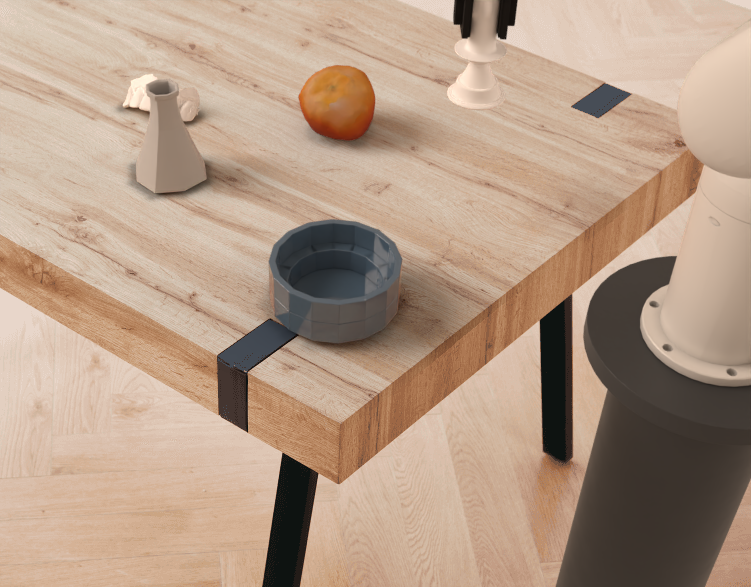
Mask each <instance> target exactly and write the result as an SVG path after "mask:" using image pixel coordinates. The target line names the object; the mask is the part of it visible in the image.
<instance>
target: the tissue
mask: <svg viewBox="0 0 751 587" xmlns="http://www.w3.org/2000/svg"><path fill="white" fill-rule="evenodd" d="M154 80H159V79H158V77H157V76H154V73H150V74H143V75H142V76H141V77H137V78H134V79H131V80H130V86H129V87H128V90H127V95H126V97H125V100H124V102H123V103H122V108H124V109H127V108H135V109H136V108H139V110H141V111H145V112H149V113H150V105H151V104H150V97H148V96H147V94H146V84H148V83H150V82H152V81H154ZM200 97H201V96H200V94H199V92H198V90H197V88H196V87H194V86H192V87H184V88H181V89H179V95H178V96H177V104H178V107H179V111H180V114H181V117H182V120H183V122H191V121H193V120H194V118H195V117H196V116H199V111H200V99H201V98H200Z"/></svg>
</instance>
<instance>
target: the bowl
mask: <svg viewBox="0 0 751 587" xmlns="http://www.w3.org/2000/svg"><path fill="white" fill-rule="evenodd" d="M271 248H272V249H271V252H270V255H269V258H268V286H269V287H268V288H269V289H268V290H269V301H270V305H271V308H272V309H271V310H272V312H273V315H274V317H275V319H277V320H278V321H279V322H280V323H281V324H282V325H283V326H284V327H285V328H286V329H287V330H288V331H290V332H292V333H294V334H296V335H298V336H301V337H303V338H305V339H308V340H310V341H313V342H320V343H321V342H323V343H329V344H343V343H350V342H355V341H356V342H357V341H362V340H366V339H367V338H369V337H371V336H373V335H375V334H377V333H379V332H381V331H383V330H385V329H386V327H387V326H388V325H389V324H390V323H391V321H393V319H394V318H395V317H396V315H397V314H398V311H399V310H398V309H399V305H400V297H401V285H402V271H403V257H402V255H401V252H400V250H399V249H398V246H397V244H396V243H395V241H394V240H392V239H391V238H390V237H389V236H388V235H387V234H385V233H384V232H382V231H381V230H379V228H378V229H377V228H375V227H372V226H370V225H367V224H365V223H362V222H359V221H356V220H346V219H336V218H330V219H324V220H323V219H322V220H315V221H309V222H306V223H303V224H302V225H299V226H297V227H295V228H291V229H290V230H287V231H286V232H285V233H284V234H283V235H282V236H281V237H280V238H279V239H278V240H277V241H276V242H275V243H274V244H273V245H272V247H271Z"/></svg>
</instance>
